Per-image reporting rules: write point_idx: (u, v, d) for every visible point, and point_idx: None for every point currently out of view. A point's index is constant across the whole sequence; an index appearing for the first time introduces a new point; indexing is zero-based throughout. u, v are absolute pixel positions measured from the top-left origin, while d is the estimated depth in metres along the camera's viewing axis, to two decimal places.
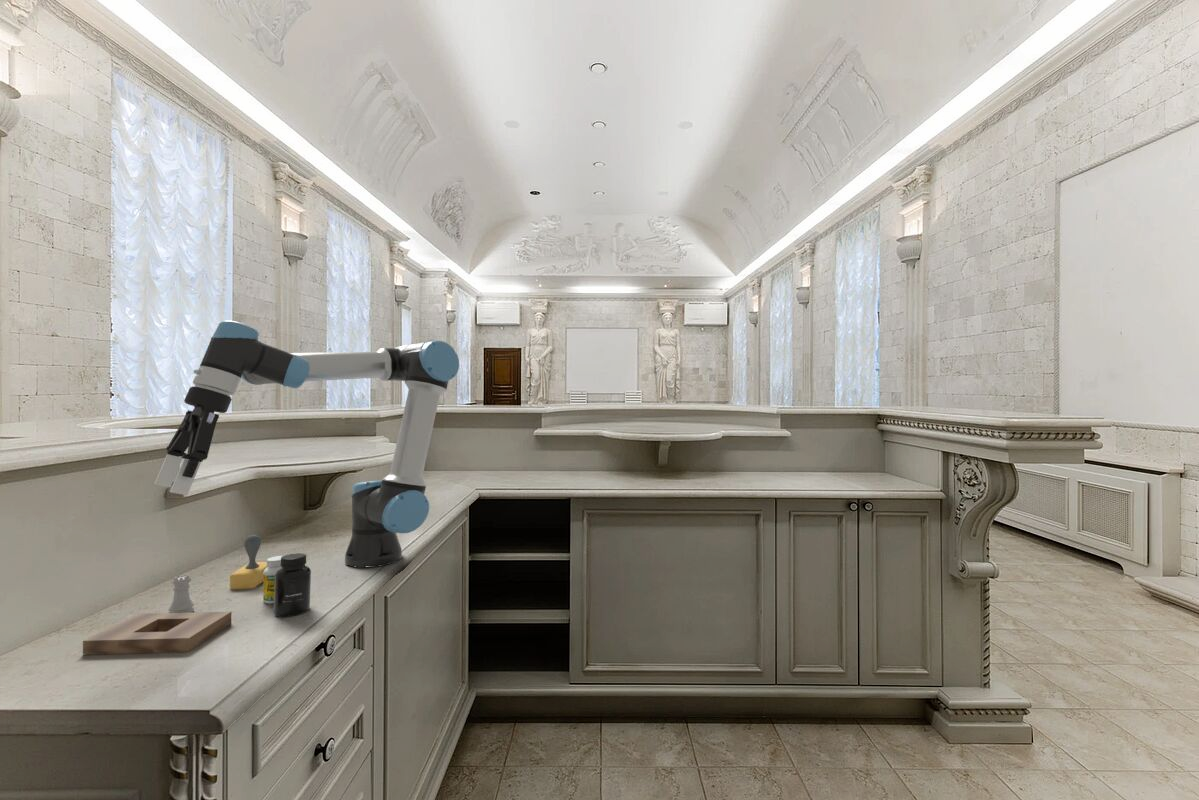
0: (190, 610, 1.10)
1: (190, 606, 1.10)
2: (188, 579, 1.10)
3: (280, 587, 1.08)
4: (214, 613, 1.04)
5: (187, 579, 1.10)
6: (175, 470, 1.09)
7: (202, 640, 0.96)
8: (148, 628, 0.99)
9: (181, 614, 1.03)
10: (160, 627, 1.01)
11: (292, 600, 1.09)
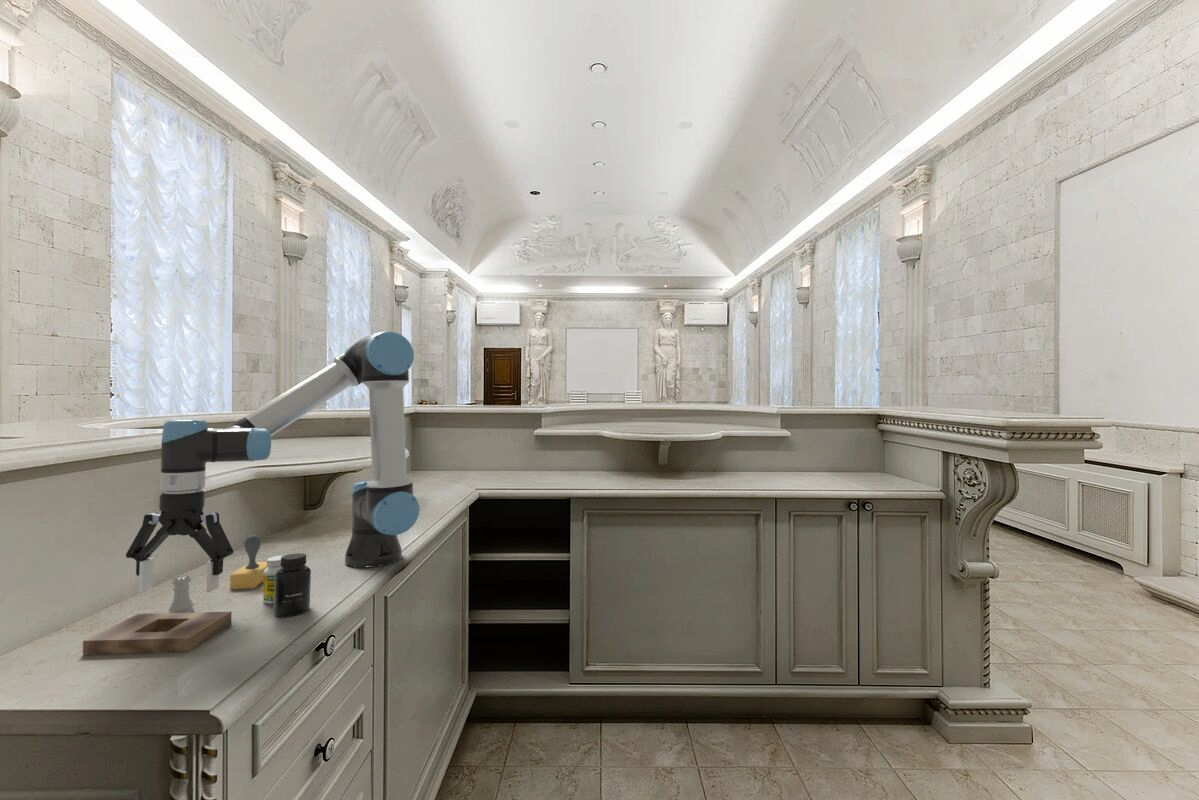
0: (190, 610, 1.10)
1: (190, 606, 1.10)
2: (188, 579, 1.10)
3: (280, 587, 1.08)
4: (214, 613, 1.04)
5: (187, 579, 1.10)
6: (151, 572, 1.10)
7: (202, 640, 0.96)
8: (148, 628, 0.99)
9: (181, 614, 1.03)
10: (160, 627, 1.01)
11: (292, 600, 1.09)
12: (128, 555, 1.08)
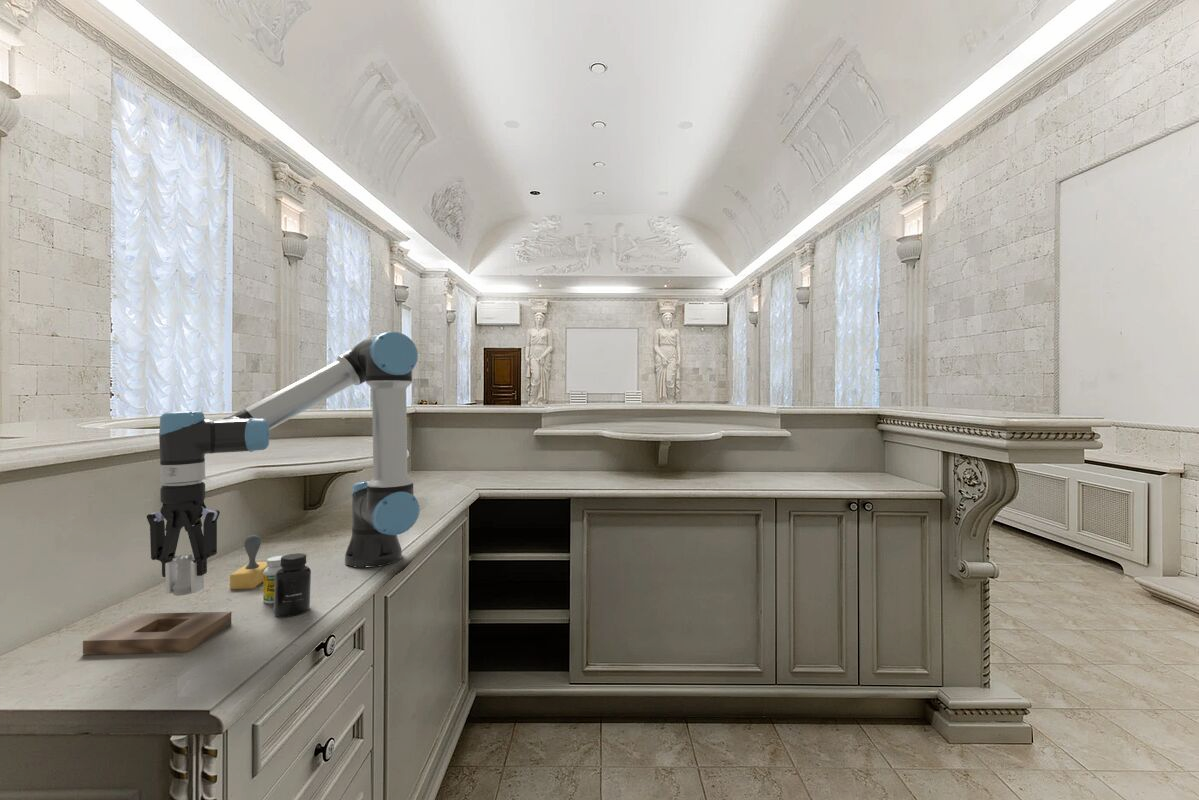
0: None
1: None
2: (191, 558, 1.10)
3: (280, 587, 1.08)
4: (214, 613, 1.04)
5: (190, 558, 1.10)
6: (177, 573, 1.11)
7: (202, 640, 0.96)
8: (148, 628, 0.99)
9: (181, 614, 1.03)
10: (160, 627, 1.01)
11: (292, 600, 1.09)
12: (153, 557, 1.09)
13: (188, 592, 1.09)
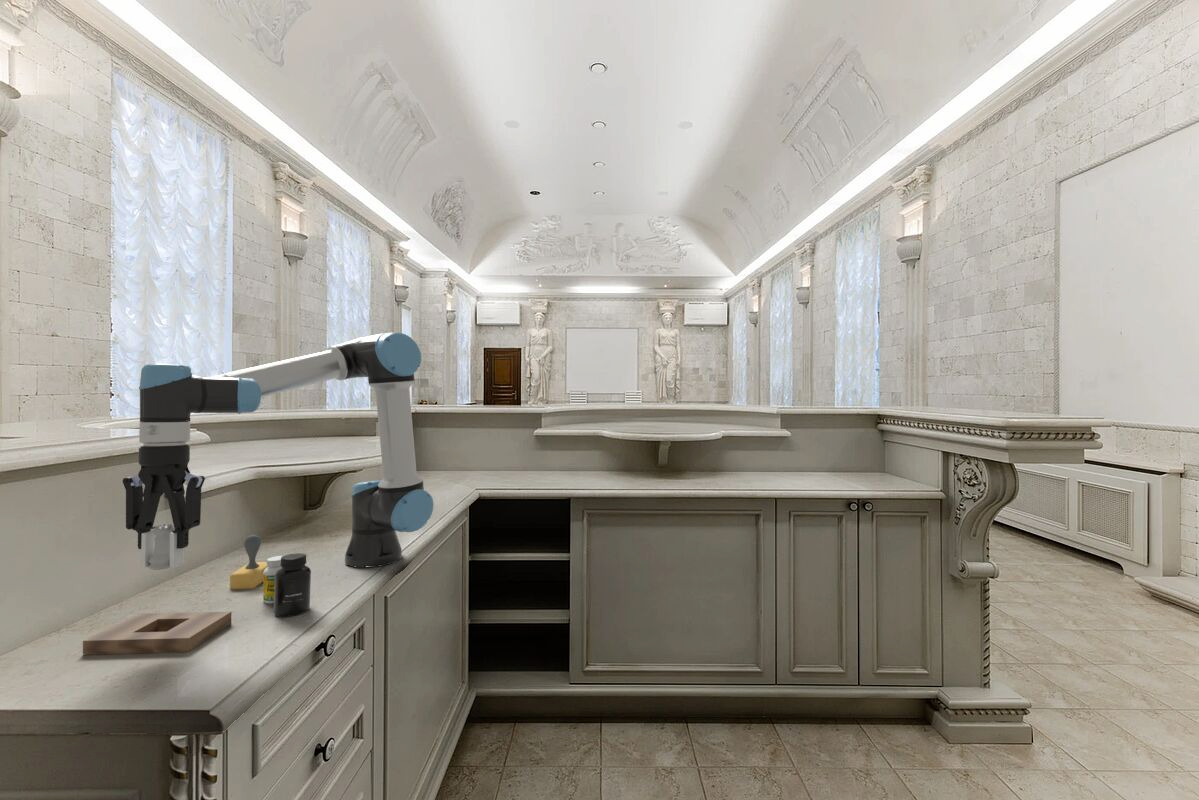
0: None
1: None
2: (171, 528, 0.99)
3: (280, 587, 1.08)
4: (214, 613, 1.04)
5: (170, 528, 0.98)
6: None
7: (202, 640, 0.96)
8: (148, 628, 0.99)
9: (181, 614, 1.03)
10: (160, 627, 1.01)
11: (292, 600, 1.09)
12: (128, 526, 0.97)
13: (166, 566, 0.97)
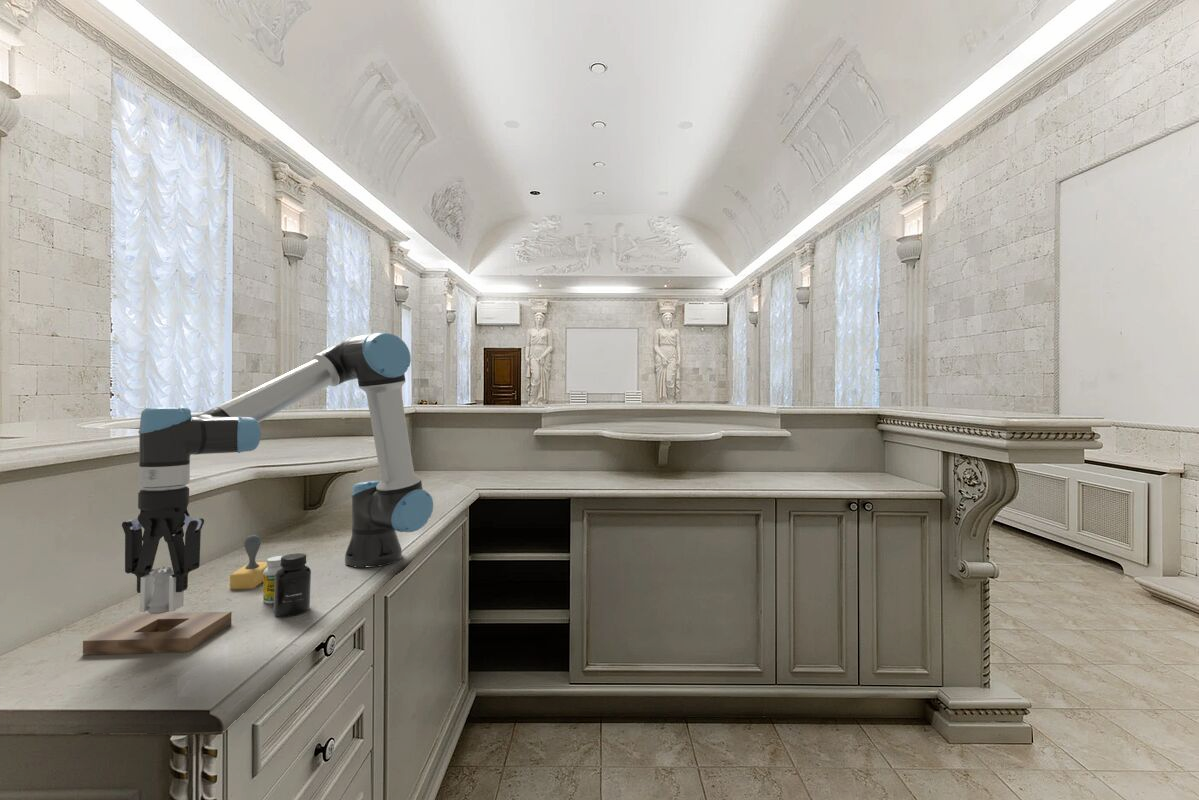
0: None
1: None
2: (170, 571, 0.98)
3: (280, 587, 1.08)
4: (214, 613, 1.04)
5: (169, 571, 0.98)
6: None
7: (202, 640, 0.96)
8: (148, 628, 0.99)
9: (181, 614, 1.03)
10: (160, 627, 1.01)
11: (292, 600, 1.09)
12: (128, 570, 0.97)
13: (165, 610, 0.97)
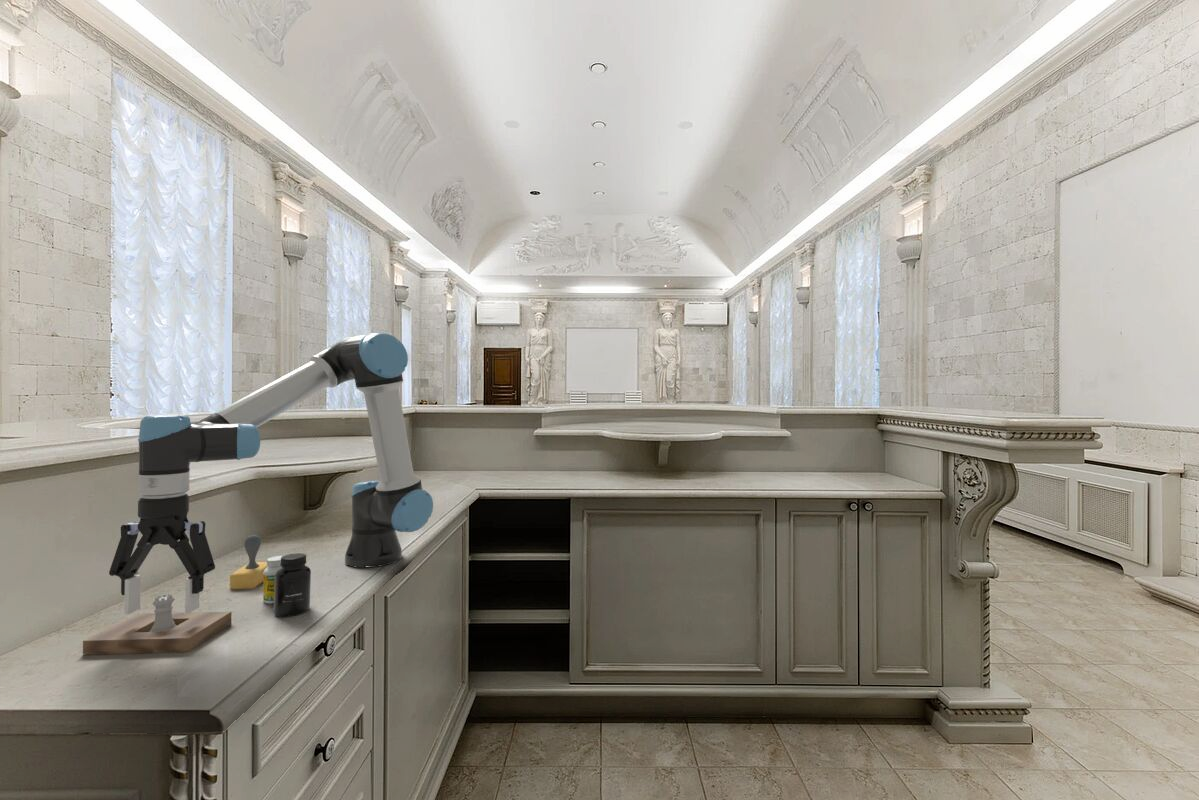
0: None
1: None
2: (171, 599, 0.99)
3: (280, 587, 1.08)
4: (214, 613, 1.04)
5: (170, 599, 0.98)
6: (139, 590, 0.99)
7: (202, 640, 0.96)
8: (148, 628, 0.99)
9: (181, 614, 1.03)
10: None
11: (292, 600, 1.09)
12: (112, 572, 0.96)
13: None
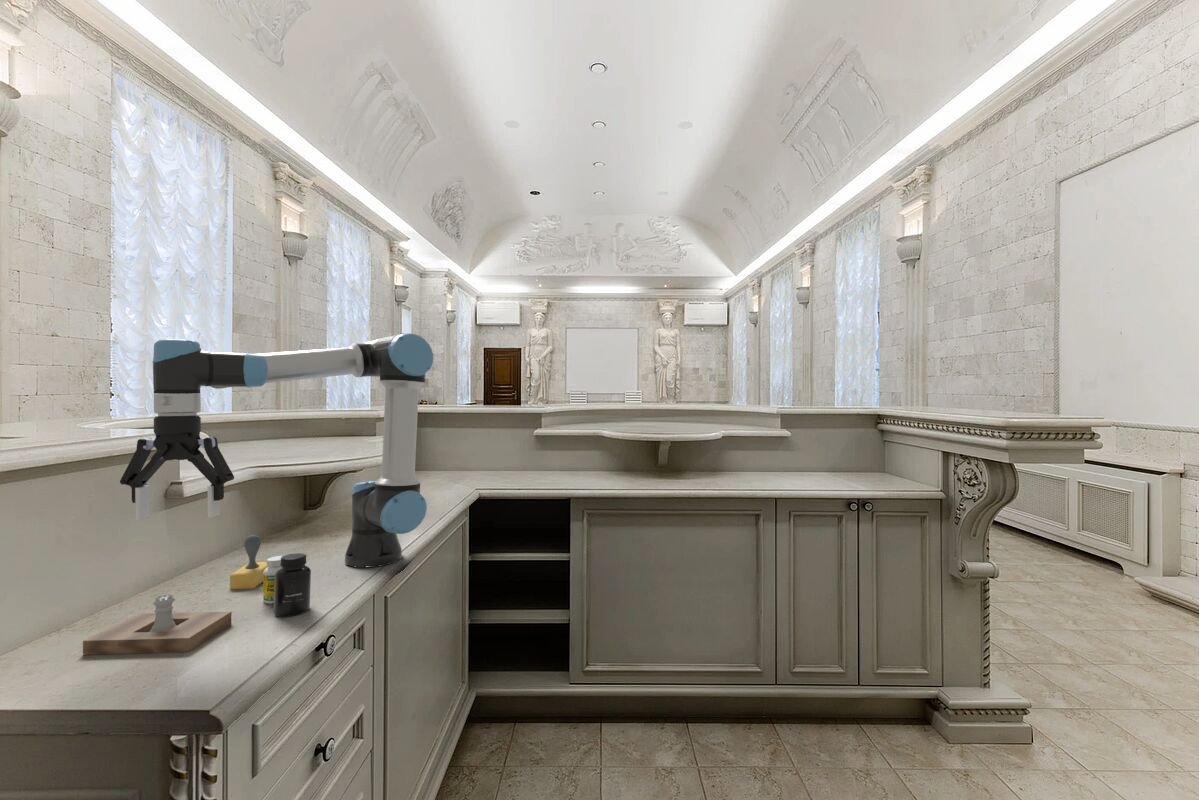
0: None
1: None
2: (171, 599, 0.99)
3: (280, 587, 1.08)
4: (214, 613, 1.04)
5: (170, 599, 0.98)
6: (148, 499, 1.06)
7: (202, 640, 0.96)
8: (148, 628, 0.99)
9: (181, 614, 1.03)
10: None
11: (292, 600, 1.09)
12: (122, 481, 1.03)
13: None
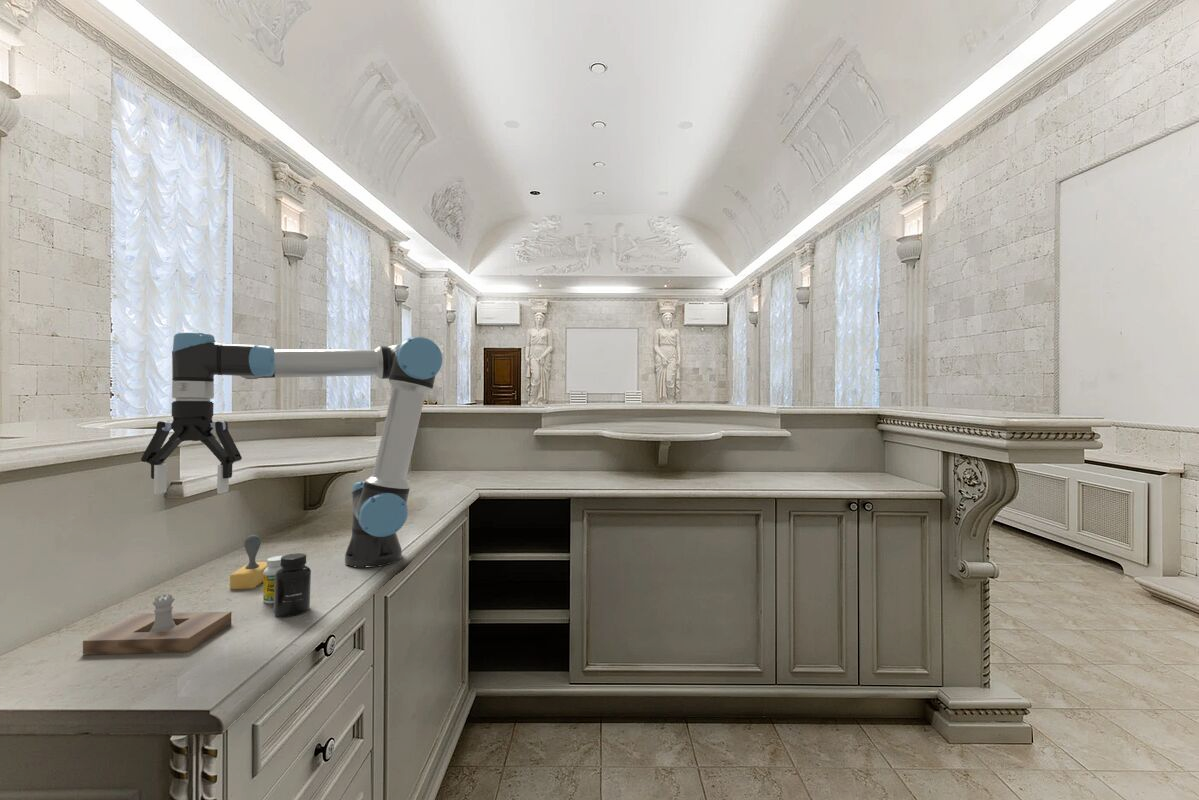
0: None
1: None
2: (171, 599, 0.99)
3: (280, 587, 1.08)
4: (214, 613, 1.04)
5: (170, 599, 0.98)
6: (165, 476, 1.17)
7: (202, 640, 0.96)
8: (148, 628, 0.99)
9: (181, 614, 1.03)
10: None
11: (292, 600, 1.09)
12: (143, 459, 1.15)
13: None
